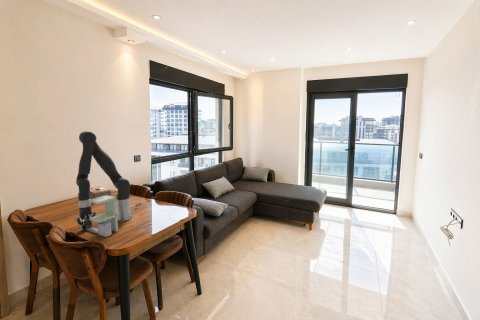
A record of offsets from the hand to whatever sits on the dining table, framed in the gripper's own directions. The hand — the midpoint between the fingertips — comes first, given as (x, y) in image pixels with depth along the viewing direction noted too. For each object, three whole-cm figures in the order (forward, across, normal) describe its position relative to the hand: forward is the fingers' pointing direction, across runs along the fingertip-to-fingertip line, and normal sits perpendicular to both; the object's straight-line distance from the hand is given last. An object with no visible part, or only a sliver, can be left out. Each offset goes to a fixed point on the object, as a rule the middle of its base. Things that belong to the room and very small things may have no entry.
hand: (86, 228), depth 180 cm
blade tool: (+1, 0, +7) cm, 7 cm away
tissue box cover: (+1, -50, -62) cm, 80 cm away
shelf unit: (+1, -2, +17) cm, 17 cm away
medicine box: (+1, 0, +20) cm, 20 cm away
